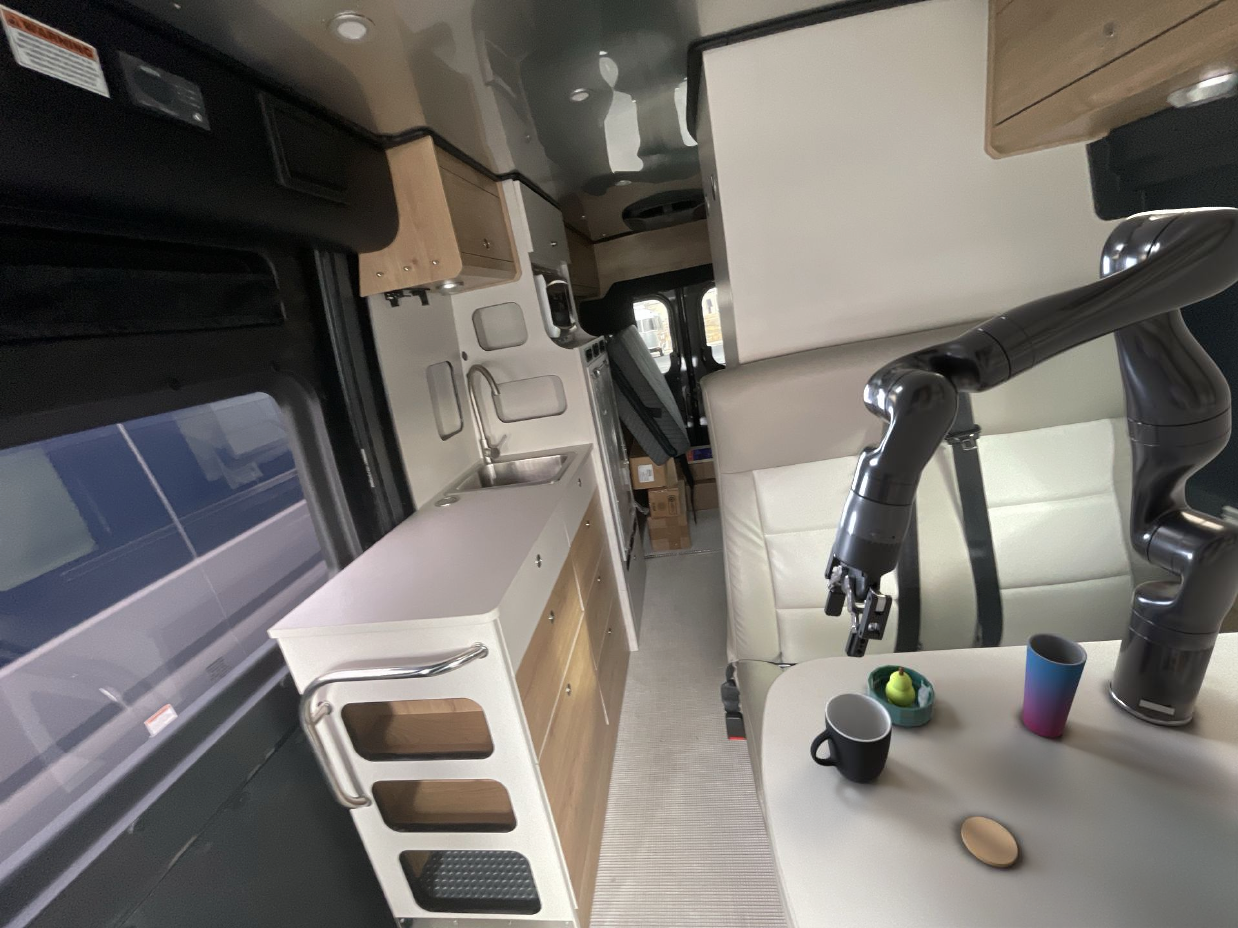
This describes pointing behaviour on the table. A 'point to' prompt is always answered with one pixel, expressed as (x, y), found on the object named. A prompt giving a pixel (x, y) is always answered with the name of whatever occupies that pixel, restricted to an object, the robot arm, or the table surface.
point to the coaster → (989, 841)
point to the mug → (855, 737)
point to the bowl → (921, 704)
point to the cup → (1051, 682)
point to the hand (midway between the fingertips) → (842, 633)
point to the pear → (900, 690)
